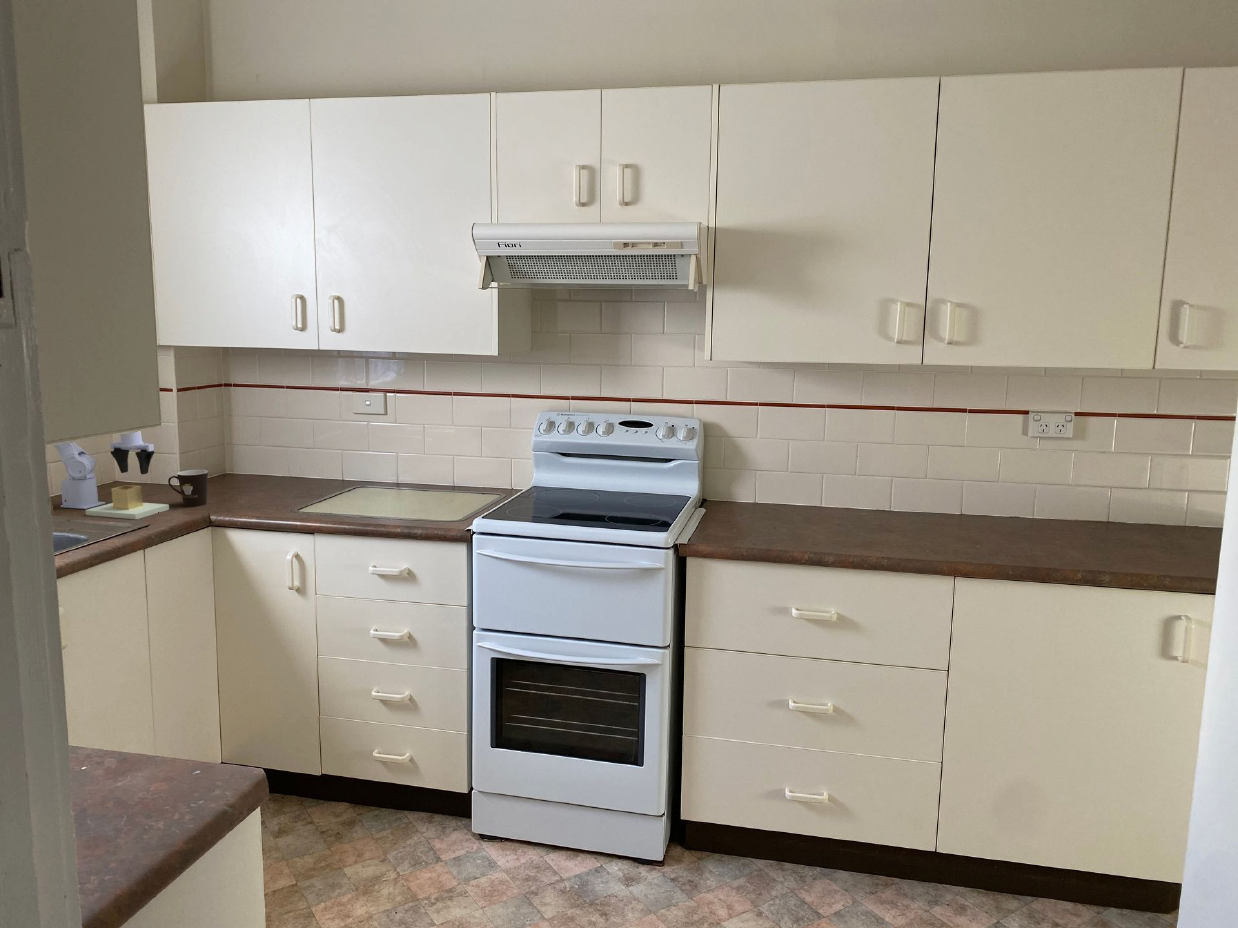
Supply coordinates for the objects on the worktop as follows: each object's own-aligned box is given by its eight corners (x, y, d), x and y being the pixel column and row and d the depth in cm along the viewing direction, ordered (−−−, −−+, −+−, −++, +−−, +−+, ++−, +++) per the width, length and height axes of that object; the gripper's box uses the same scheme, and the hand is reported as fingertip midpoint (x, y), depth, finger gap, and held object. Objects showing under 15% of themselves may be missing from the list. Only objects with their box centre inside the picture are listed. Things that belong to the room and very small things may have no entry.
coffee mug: (216, 503, 292) (213, 471, 290) (191, 508, 285) (188, 476, 283) (192, 499, 298) (190, 467, 296) (167, 504, 290) (164, 472, 289)
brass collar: (113, 508, 278) (111, 488, 277) (128, 504, 283) (126, 484, 282) (128, 509, 276) (126, 489, 275) (143, 505, 282) (141, 486, 281)
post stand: (85, 515, 276) (83, 496, 275) (120, 505, 289) (118, 488, 288) (135, 519, 271) (134, 500, 270) (169, 509, 283) (167, 491, 282)
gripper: (159, 428, 290) (163, 472, 292) (121, 426, 294) (125, 469, 296) (142, 431, 283) (146, 476, 286) (103, 429, 287) (107, 473, 290)
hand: (134, 473), depth 291 cm, fingers open, 7 cm apart
